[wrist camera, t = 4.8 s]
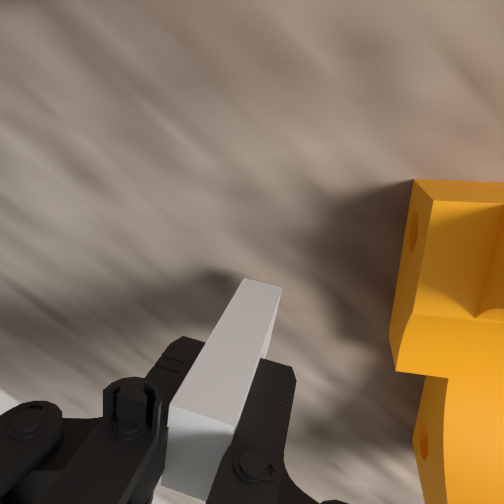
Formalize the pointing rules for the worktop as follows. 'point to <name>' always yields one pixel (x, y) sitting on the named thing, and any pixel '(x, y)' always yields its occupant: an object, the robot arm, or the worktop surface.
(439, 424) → the pipe clamp
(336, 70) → the worktop surface
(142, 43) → the worktop surface
